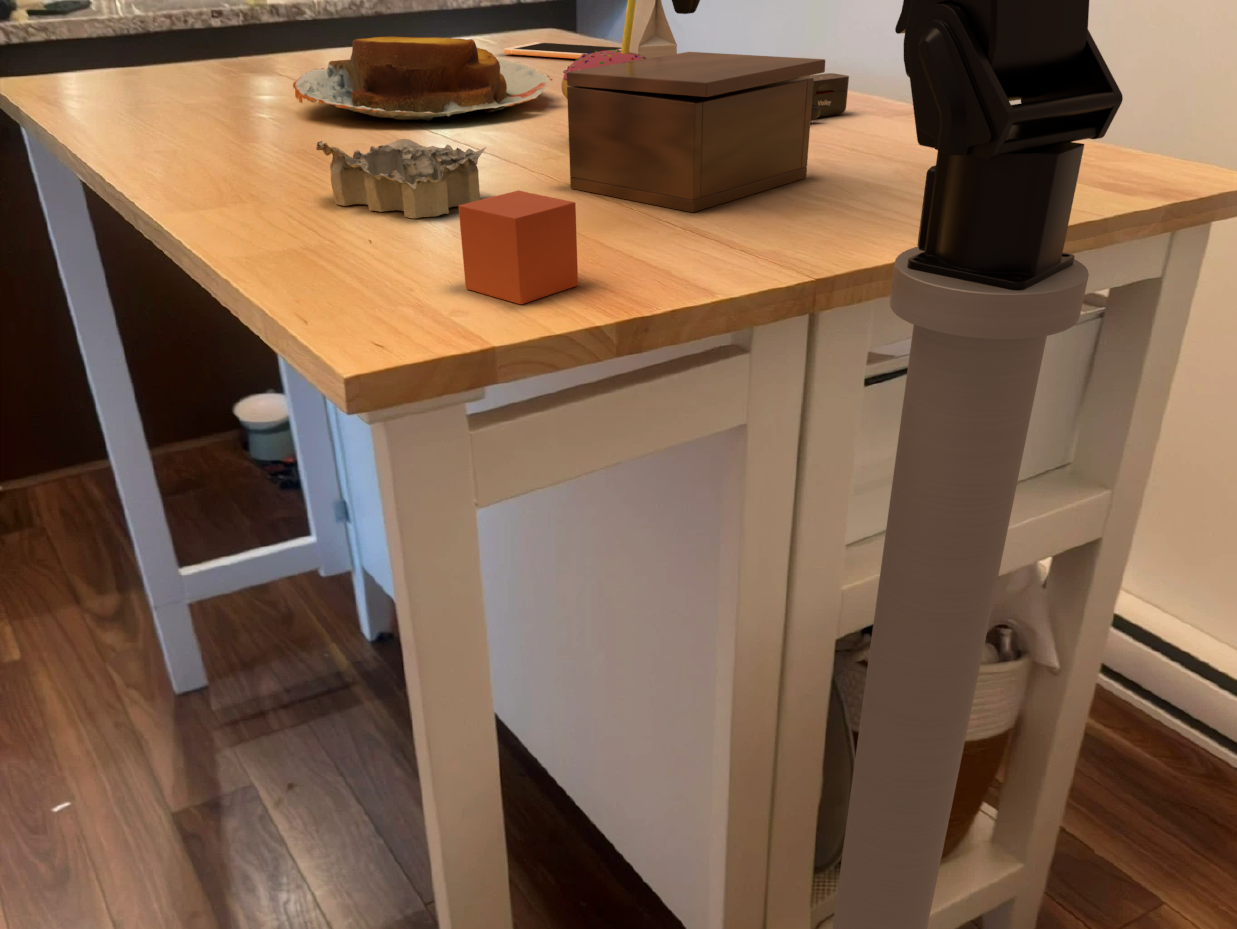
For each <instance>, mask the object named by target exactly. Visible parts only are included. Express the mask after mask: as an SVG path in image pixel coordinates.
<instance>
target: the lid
mask: <svg viewBox="0 0 1237 929" xmlns="http://www.w3.org/2000/svg"><path fill="white" fill-rule="evenodd" d="M825 72H826V59H825V58H824V59H823V58H810V57H809V58H807V57H789V56H772V55H771V56H770V55H757V54H756V55H752V54H736V53H721V52H720V53H719V52H702V51H701V52H700V51H686V52H679V53H677V54H673V55H667V56H661V57H655V58H649V59H643V60H637V61H631V62H625V63H619V64H613V65H607V66H602V67H596V68H590V69H584V70H578V71H572V72H567V85H568V86H579V87H591V88H602V89H614V90H626V91H638V92H650V93H662V94H673V95H685V96H697V97H710V96H715V95H719V94H724V93H729V92H734V91H738V90H743V89H748V88H753V87H757V86H762V85H767V84H772V83H777V82H781V81H786V80H791V79H796V78H800V77H805V76H811V75H819V74H825Z"/></svg>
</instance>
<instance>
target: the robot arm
mask: <svg viewBox="0 0 1237 929" xmlns="http://www.w3.org/2000/svg"><path fill="white" fill-rule="evenodd" d="M700 2H701V0H671V3H672V6H673V10H674V12H675V13H676V14H680V15H689V14H694V13H695V12H696V11H697V9H698V7H699V4H700ZM1089 12H1090V0H903V2H902V6H901V12H900V14H899V17H898V20H897V22H896V25H895V28H894V31H895V33H896V34H898V35H901V34H904V36H903V64H904V70H905V74H906V76H907V77H908V78H909V82H910V83H909V84H910V92H911V99H912V107H913V108H912V109H913V117H914V122H915V123H914V124H915V125H914V126H915V133H916V140H917V144H918V145H920V146H923V147H926V148H927V147H928V148H932V149H934V150H936V151H937V153H936V162H935V164H934V165H932V166H930V167H929V168H928V169H927V171H926V176H925V184H924V189H923V190H924V192H923V197H922V206H921V214H920V220H919V228H918V229H919V230H918V236H917V244H916V247H918V248H919V250H921V251H924V252H922V253H920V254H918V255H915V256H913V257H911V258H909V259H908V265H907V268H909V269H912V270H917V271H922V272H926V273H931V274H936V275H941V276H946V277H951V278H956V279H960V280H965V281H970V282H975V283H980V284H985V285H989V286H994V287H999V288H1004V289H1009V290H1016V291H1019V290H1025V289H1027V288H1029V287H1031V286H1032V285H1034V284H1036V283H1038V282H1040V281H1042V280H1044V279H1046V278H1048V277H1050V276H1052V275H1054V274H1056V273H1058V272H1060V271H1062V270H1064V269H1065V268H1067V267H1069V266H1071V265H1073V262H1074V259H1076V258H1075V257H1076V256H1075V255H1074V254H1073V253H1068V252H1064V249H1065V243H1066V238H1067V233H1068V228H1069V224H1070V218H1071V213H1072V208H1073V203H1074V199H1075V193H1076V189H1077V183H1078V179H1079V173H1080V169H1081V165H1082V164H1081V163H1082V160H1083V154H1084V150H1085V143H1081V142H1078V141H1082V140H1097V139H1102V138H1104V137H1105V136H1106V134H1107V132H1108V130H1109V129H1110V126H1111V124H1112V123H1113V120H1114V119H1115V117H1116V115H1117V113H1118V110H1119V109H1120V108H1121V105H1122V103H1123V100H1124V98H1123V93H1122V91H1121V89H1120V87H1119V85H1118V83H1117V82H1116V79H1115V77H1114V76H1113V74H1112V72H1111V70H1110V68H1109V66H1108V64H1107V63H1106V61H1105V59H1104V57H1103V54H1102V52H1101V51H1100V49H1099V47H1098V45H1097V43H1096V42H1095V39H1094V38H1093V36H1092V33H1091V32H1090V30H1089V15H1090V13H1089ZM1015 101H1020V103H1014V104H1012V103H1011V102H1015Z"/></svg>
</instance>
